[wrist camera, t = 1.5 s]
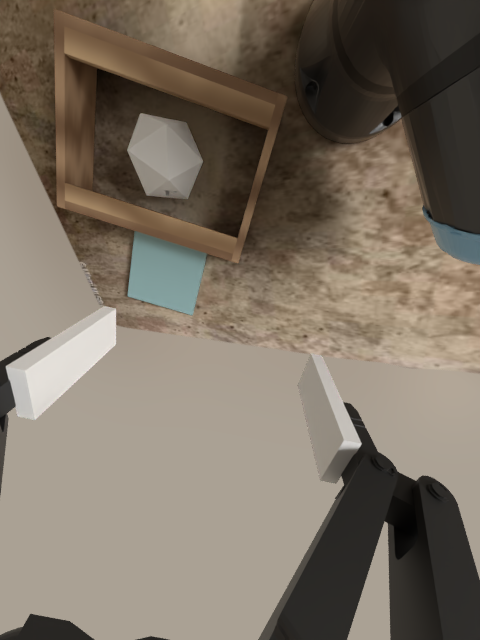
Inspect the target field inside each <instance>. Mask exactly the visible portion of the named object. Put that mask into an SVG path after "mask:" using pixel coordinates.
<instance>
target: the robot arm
mask: <svg viewBox="0 0 480 640" xmlns="http://www.w3.org/2000/svg"><path fill="white" fill-rule="evenodd" d="M295 86H296V93H297V97H298V101H299V104H300V107H301V109H302V112H303V114H304V116H305V117H306V119H307V121H308V122H309V123H310V125H311V126H312V127H313V128H314V129H315V130H316V131H317V132H318V133H320V134H321V135H322V136H324V137H326V138H327V139H330V140H332V141H335V142H340V143H357V142H362V141H365V140H368V139H371V138H373V137H375V136H377V135H379V134H381V133H382V132H384V131H385V130H387V129H388V128H390V127H391V126H393V125H394V124H395V123H397V122H398V121H399V120H400V119H402V123H403V127H404V131H405V135H406V139H407V142H408V146H409V150H410V154H411V158H412V162H413V166H414V169H415V173H416V177H417V181H418V185H419V189H420V193H421V196H422V200H423V204H424V205H423V208H422V210H423V214H424V216H425V218H426V219H427V220H428V221H429V222H430V225H431V228H432V231H433V234H434V237H435V240H436V243H437V244H438V246H439V247H440V248H441V250H443V251H445V252H447V253H448V254H449V255H451V256H452V257H453V258H455V259H458V260H461V261H464V262H468V263H472V264H477V265H480V0H314V1H313V3H312V5H311V7H310V9H309V12H308V14H307V17H306V19H305V22H304V25H303V29H302V32H301V36H300V40H299V44H298V48H297V53H296V60H295ZM412 110H413V111H412ZM115 345H116V309H115V308H111V307H106V306H104V307H102V308H100V309H99V310H97V311H95V312H94V313H92V314H90V315H89V316H87V317H86V318H84V319H82V320H81V321H79V322H77V323H76V324H74V325H72V326H71V327H69V328H68V329H66V330H64V331H63V332H61V333H59V334H58V335H56V336H54V337H53V338H49V337H46V338H44V339H40V340H38V341H35V342H33V343H31V344H30V345H28V346H26V348H23V349H21V350H19V351H18V352H16V353H14V354H12V355H11V356H9V357H7V358H5V359H4V360H2V361H0V493H1V483H2V474H3V465H4V455H5V446H6V437H7V427H8V415H7V413H8V412H9V411H10V410H12V409H13V408H14V407H15V408H16V412H17V416H18V417H23V418H28V419H33V420H35V419H37V418H38V417H39V416H40V415H41V414H42V413H43V412H44V411H45V410H46V409H47V408H48V407H49V406H51V405H52V404H53V403H54V402H55V401H56V400H57V399H58V398H59V397H60V396H61V395H62V394H63V393H64V392H66V391H67V390H68V389H69V388H70V387H71V386H72V385H73V384H74V383H75V382H76V381H77V380H78V379H79V378H80V377H82V376H83V375H84V374H85V373H86V372H87V371H88V370H89V369H90V368H91V367H92V366H93V365H94V364H95V363H96V362H98V361H99V360H100V359H101V358H102V357H103V356H104V355H105V354H106V353H107V352H108V351H109V350H110V349H111V348H113V347H114V346H115ZM298 388H299V393H300V397H301V401H302V405H303V409H304V413H305V418H306V422H307V427H308V431H309V435H310V439H311V444H312V448H313V452H314V456H315V460H316V465H317V469H318V473H319V478H320V480H321V481H326V482H331V483H337V482H338V480H339V478H340V477H341V476H342V479H343V482H344V486H343V487H342V489H341V490H340V492H339V493H338V495H337V497H336V498H335V499H336V500H335V502H334V503H333V505H332V507H331V509H330V511H329V513H328V514H327V516H326V518H325V520H324V522H323V523H322V525H321V527H320V529H319V531H318V532H317V534H316V536H315V538H314V540H313V541H312V543H311V545H310V547H309V549H308V551H307V552H306V554H305V556H304V558H303V560H302V561H301V563H300V565H299V567H298V569H297V570H296V572H295V575H294V576H293V578H292V580H291V581H290V583H289V585H288V587H287V589H286V591H285V592H284V594H283V596H282V598H281V599H280V601H279V603H278V605H277V607H276V608H275V610H274V612H273V614H272V616H271V618H270V619H269V621H268V623H267V625H266V627H265V628H264V630H263V632H262V634H261V636H260V638H259V639H258V640H347V637H348V634H349V631H350V628H351V625H352V622H353V618H354V615H355V612H356V609H357V606H358V603H359V600H360V597H361V593H362V590H363V587H364V584H365V580H366V577H367V574H368V571H369V568H370V565H371V562H372V558H373V556H374V552H375V549H376V546H377V543H378V540H379V537H380V533H381V530H382V527H383V524H384V521H385V522H387V523H388V542H389V543H388V545H389V590H390V634H391V640H480V580H479V576H478V573H477V569H476V566H475V563H474V559H473V556H472V552H471V549H470V545H469V542H468V538H467V535H466V531H465V528H464V525H463V521H462V518H461V514H460V511H459V507H458V504H457V502H456V500H455V498H454V496H453V495H452V494H451V493H450V491H449V490H448V489H447V488H446V487H445V486H444V485H442V484H441V483H440V482H438V481H437V480H435V479H433V478H431V477H429V476H421V477H420V478H419V479H418V480H417V481H415V480H413V479H411V478H409V477H407V476H405V475H403V474H401V473H399V472H397V470H396V467H395V466H394V465H393V463H392V462H391V461H390V460H389V459H388V458H387V457H386V456H384V455H382V454H381V453H379V452H378V451H377V449H376V447H375V445H374V443H373V441H372V439H371V437H370V435H369V433H368V431H367V429H366V428H365V425H364V423H363V422H362V419H361V417H360V416H359V413H358V412H357V410H356V409H355V408H354V407H353V406H352V405H351V404H349V403H344V402H343V401H342V399H341V397H340V395H339V392H338V390H337V388H336V386H335V384H334V382H333V379H332V377H331V375H330V372H329V370H328V368H327V366H326V364H325V361H324V359H323V357H322V356H321V355H316V354H312V353H311V354H310V357H309V359H308V362H307V364H306V367H305V369H304V371H303V374H302V376H301V379H300V381H299V383H298ZM0 640H94V639H93V638H91V637H90V636H89V635H87V634H86V633H85V632H83V631H82V630H81V629H79V628H78V627H77V626H75V625H74V624H73V623H71V622H70V621H66V620H60V619H55V618H49V617H44V616H38V615H33V614H30V616H29V617H28V619H27V621H26V623H25V624H24V626H23V627H20V628H17V629H14V630H11V631H8V632H6V633H4V634H2V635H0ZM137 640H168V639H163V638H157V637H152V636H151V637H146V638H142V639H137Z"/></svg>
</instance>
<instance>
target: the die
mask: <svg viewBox="0 0 480 640" xmlns="http://www.w3.org/2000/svg"><path fill="white" fill-rule="evenodd" d="M127 151H128V153H129V156H130V158H131V160H132V163H133V165H134V167H135V170H136V172H137V174H138V177H139V179H140V181H141V184H142V186H143V188H144V191H145V193H146V195H147V196H156V197H167V198H177V199H188V197H189V195H190V192H191V190H192V188H193V185H194V183H195V180H196V178H197V175H198V173H199V170H200V168H201V165H202V163H203V160H202V157H201V155H200V153H199V150H198V148H197V146H196V143H195V141H194V139H193V136H192V134H191V131H190V129H189V127H188V124H187V122H183V121H178V120H173V119H168V118H163V117H158V116H153V115H147V114H142V113H140V116H139V118H138V121H137V124H136V127H135V130H134V132H133V135H132V138H131V141H130V144H129V146H128V149H127Z"/></svg>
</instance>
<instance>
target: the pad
mask: <svg viewBox="0 0 480 640" xmlns="http://www.w3.org/2000/svg"><path fill="white" fill-rule="evenodd" d="M206 258H207V253H203V252H200V251H197V250H194V249H191V248H188V247H184V246H181V245H178V244H175V243H172V242H169V241H165V240H162V239H159V238H156V237H153V236H150V235H146V234H143V233H140V232H137V231H135V233H134V242H133V251H132V260H131V269H130V278H129V287H128V297H131V298H135V299H138V300H142V301H145V302H148V303H152V304H155V305H159V306H162V307H165V308H169V309H172V310H176V311H179V312H183V313H186V314H189V315H192V314H193V312H194V308H195V304H196V299H197V295H198V291H199V287H200V283H201V279H202V274H203V270H204V266H205V262H206Z"/></svg>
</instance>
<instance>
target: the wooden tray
mask: <svg viewBox="0 0 480 640" xmlns="http://www.w3.org/2000/svg"><path fill="white" fill-rule="evenodd" d="M54 55H55V117H56V180H57V206H58V207H61V208H64V209H67V210H70V211H73V212H77V213H80V214H83V215H86V216H89V217H92V218H96V219H99V220H102V221H105V222H108V223H111V224H115V225H118V226H121V227H124V228H127V229H130V230H134V231H137V232H140V233H143V234H146V235H150V236H153V237H156V238H159V239H162V240H165V241H169V242H172V243H175V244H178V245H181V246H184V247H188V248H191V249H194V250H197V251H200V252H203V253H207V254H210V255H213V256H216V257H219V258H222V259H226V260H229V261H232V262H235V263H238V262H239V259H240V256H241V252H242V249H243V246H244V242H245V239H246V236H247V232H248V229H249V225H250V222H251V219H252V215H253V212H254V209H255V205H256V202H257V199H258V195H259V192H260V188H261V185H262V182H263V178H264V175H265V172H266V168H267V165H268V161H269V158H270V155H271V151H272V148H273V145H274V141H275V138H276V135H277V131H278V128H279V124H280V121H281V118H282V114H283V111H284V108H285V104H286V101H287V97H288V96H285V95H282V94H280V93H277V92H274V91H272V90H269V89H266V88H264V87H261V86H258V85H256V84H253V83H250V82H248V81H245V80H242V79H240V78H237V77H234V76H232V75H229V74H227V73H224V72H221V71H219V70H216V69H213V68H211V67H208V66H205V65H203V64H200V63H197V62H195V61H192V60H189V59H187V58H184V57H181V56H179V55H176V54H173V53H171V52H168V51H166V50H163V49H160V48H158V47H155V46H152V45H150V44H147V43H144V42H142V41H139V40H136V39H134V38H131V37H128V36H126V35H123V34H120V33H118V32H115V31H113V30H110V29H107V28H105V27H102V26H99V25H97V24H94V23H91V22H89V21H86V20H83V19H81V18H78V17H75V16H73V15H70V14H67V13H65V12H62V11H59V10H57V9H54ZM97 68H99V69H102V70H105V71H107V72H110V73H113V74H116V75H118V76H121V77H124V78H127V79H129V80H132V81H135V82H138V83H140V84H143V85H146V86H149V87H151V88H154V89H157V90H160V91H162V92H165V93H168V94H171V95H173V96H176V97H179V98H182V99H184V100H187V101H190V102H193V103H195V104H198V105H201V106H204V107H206V108H209V109H212V110H215V111H217V112H220V113H223V114H226V115H228V116H231V117H234V118H237V119H239V120H242V121H245V122H248V123H250V124H253V125H256V126H259V127H261V128H264V129H267V130H268V133H267V136H266V140H265V143H264V147H263V150H262V154H261V157H260V161H259V164H258V168H257V171H256V175H255V179H254V182H253V186H252V189H251V193H250V196H249V200H248V203H247V207H246V210H245V214H244V217H243V221H242V224H241V228H240V231H239V235H238V238H236V237H233V236H230V235H227V234H224V233H220V232H217V231H214V230H211V229H208V228H205V227H202V226H199V225H196V224H193V223H190V222H186V221H183V220H180V219H177V218H174V217H171V216H168V215H165V214H162V213H159V212H156V211H152V210H149V209H146V208H143V207H140V206H137V205H134V204H131V203H128V202H125V201H122V200H118V199H115V198H112V197H109V196H106V195H103V194H100V193H97V192H94V191H92V190H93V164H94V138H95V113H96V87H97Z"/></svg>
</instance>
